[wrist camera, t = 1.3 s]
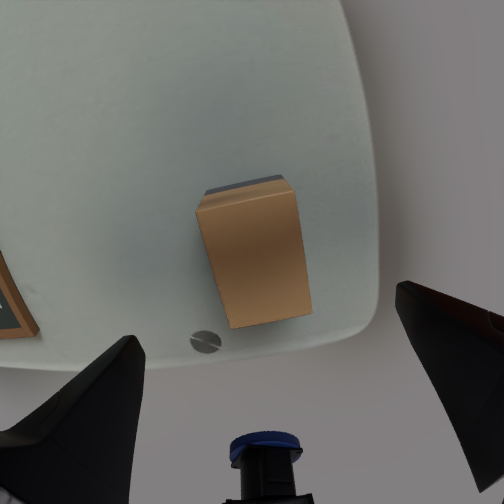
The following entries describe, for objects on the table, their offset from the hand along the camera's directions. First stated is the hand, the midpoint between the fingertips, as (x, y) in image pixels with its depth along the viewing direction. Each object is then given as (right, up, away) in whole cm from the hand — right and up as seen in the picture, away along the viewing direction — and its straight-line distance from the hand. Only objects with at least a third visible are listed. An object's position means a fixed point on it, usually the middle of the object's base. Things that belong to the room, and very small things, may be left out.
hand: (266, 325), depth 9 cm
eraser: (0, +3, +7) cm, 8 cm away
